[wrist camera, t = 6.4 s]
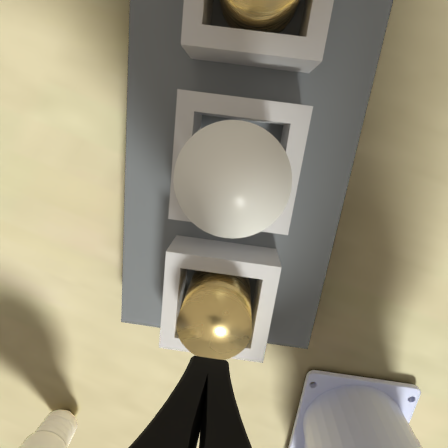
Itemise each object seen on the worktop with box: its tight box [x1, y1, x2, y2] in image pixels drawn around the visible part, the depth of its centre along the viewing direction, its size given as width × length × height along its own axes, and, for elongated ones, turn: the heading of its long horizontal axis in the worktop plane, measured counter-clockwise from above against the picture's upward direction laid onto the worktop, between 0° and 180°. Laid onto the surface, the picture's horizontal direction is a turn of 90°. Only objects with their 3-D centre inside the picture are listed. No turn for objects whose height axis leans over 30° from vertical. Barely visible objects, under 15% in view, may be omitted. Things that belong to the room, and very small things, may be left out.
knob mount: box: [121, 0, 393, 363], centre depth 16 cm, size 22×12×4 cm, turn 173°
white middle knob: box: [173, 120, 292, 239], centre depth 11 cm, size 4×4×4 cm
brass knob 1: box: [176, 270, 252, 360], centre depth 16 cm, size 4×4×4 cm
